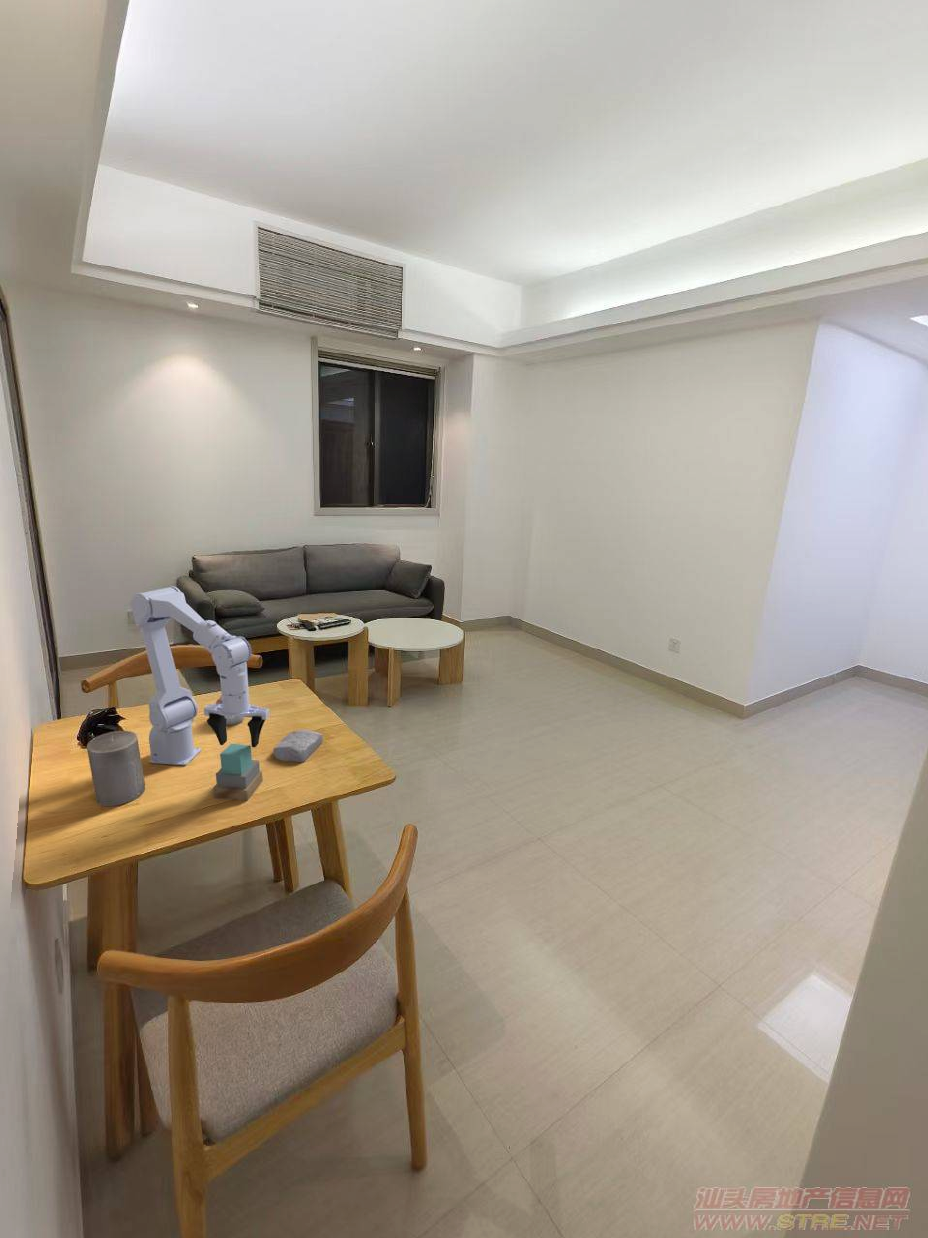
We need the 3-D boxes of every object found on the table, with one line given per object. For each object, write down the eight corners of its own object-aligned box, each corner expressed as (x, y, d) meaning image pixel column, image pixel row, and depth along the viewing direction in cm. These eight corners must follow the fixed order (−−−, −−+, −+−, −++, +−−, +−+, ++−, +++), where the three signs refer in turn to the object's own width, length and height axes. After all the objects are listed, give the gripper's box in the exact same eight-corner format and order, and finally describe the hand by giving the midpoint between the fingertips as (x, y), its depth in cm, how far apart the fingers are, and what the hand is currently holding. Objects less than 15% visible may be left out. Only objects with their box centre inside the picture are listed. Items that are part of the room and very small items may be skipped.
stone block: (271, 765, 144) (306, 764, 142) (267, 748, 143) (302, 746, 141) (293, 745, 156) (326, 743, 153) (290, 729, 155) (322, 727, 152)
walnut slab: (213, 799, 127) (212, 787, 126) (230, 779, 135) (229, 769, 134) (247, 802, 126) (247, 790, 126) (262, 782, 134) (262, 771, 133)
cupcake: (213, 717, 165) (210, 686, 162) (246, 711, 169) (244, 681, 166) (216, 731, 157) (213, 698, 154) (251, 724, 161) (248, 693, 158)
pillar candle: (113, 781, 132) (103, 724, 127) (154, 783, 131) (145, 726, 127) (85, 806, 122) (74, 745, 118) (129, 808, 122) (119, 748, 118)
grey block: (216, 785, 127) (215, 774, 126) (231, 769, 134) (230, 758, 133) (246, 788, 126) (245, 776, 126) (259, 771, 133) (259, 760, 132)
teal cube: (221, 772, 127) (220, 753, 126) (233, 761, 131) (231, 743, 130) (241, 774, 126) (239, 756, 125) (252, 763, 131) (250, 745, 130)
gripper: (194, 695, 123) (200, 750, 126) (258, 700, 122) (262, 755, 126) (210, 683, 129) (215, 735, 133) (271, 687, 129) (274, 739, 132)
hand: (239, 744), depth 130 cm, fingers open, 7 cm apart
